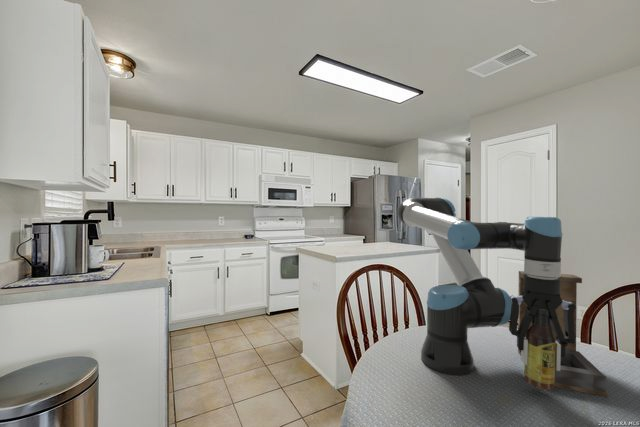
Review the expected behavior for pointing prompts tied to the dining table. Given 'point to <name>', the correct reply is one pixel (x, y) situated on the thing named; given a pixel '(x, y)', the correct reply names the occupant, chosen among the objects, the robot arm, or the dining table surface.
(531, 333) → the sauce bottle
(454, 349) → the robot arm
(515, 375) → the dining table surface
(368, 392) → the dining table surface
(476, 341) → the dining table surface
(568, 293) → the stand
